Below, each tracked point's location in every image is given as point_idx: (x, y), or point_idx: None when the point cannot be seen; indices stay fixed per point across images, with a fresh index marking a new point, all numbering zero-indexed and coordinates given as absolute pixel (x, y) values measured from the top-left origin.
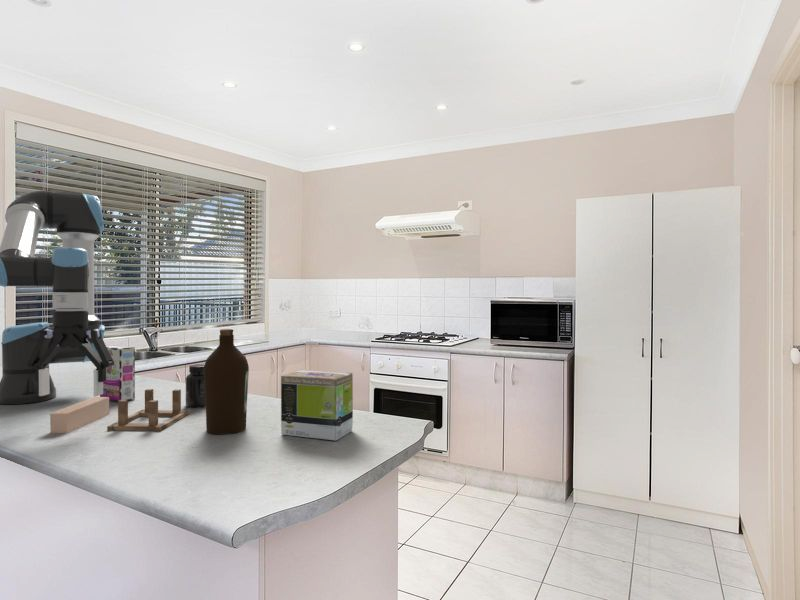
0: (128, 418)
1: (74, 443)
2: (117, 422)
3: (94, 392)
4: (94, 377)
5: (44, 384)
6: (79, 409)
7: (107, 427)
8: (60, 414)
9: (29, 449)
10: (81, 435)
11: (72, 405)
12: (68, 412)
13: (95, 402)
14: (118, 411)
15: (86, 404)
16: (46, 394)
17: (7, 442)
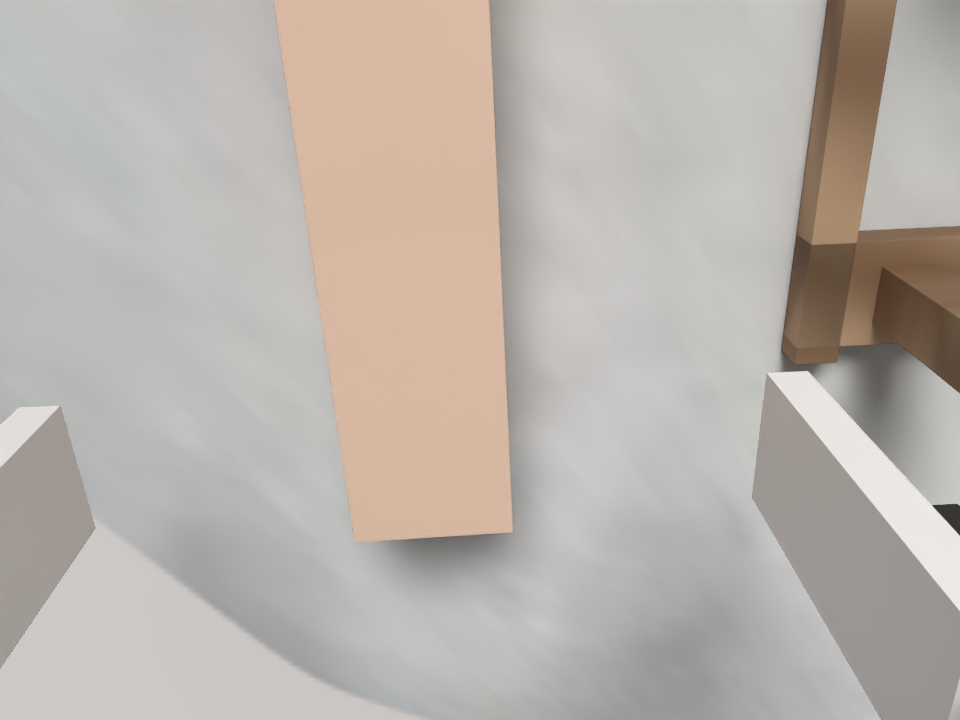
0: (882, 86)
1: (701, 614)
2: (829, 239)
3: (776, 522)
4: (872, 678)
5: (15, 583)
6: (504, 354)
7: (792, 359)
8: (453, 532)
9: (505, 717)
10: (646, 473)
11: (318, 230)
12: (499, 498)
13: (489, 36)
14: (946, 378)
15: (450, 165)
16: (76, 462)
17: (260, 637)
